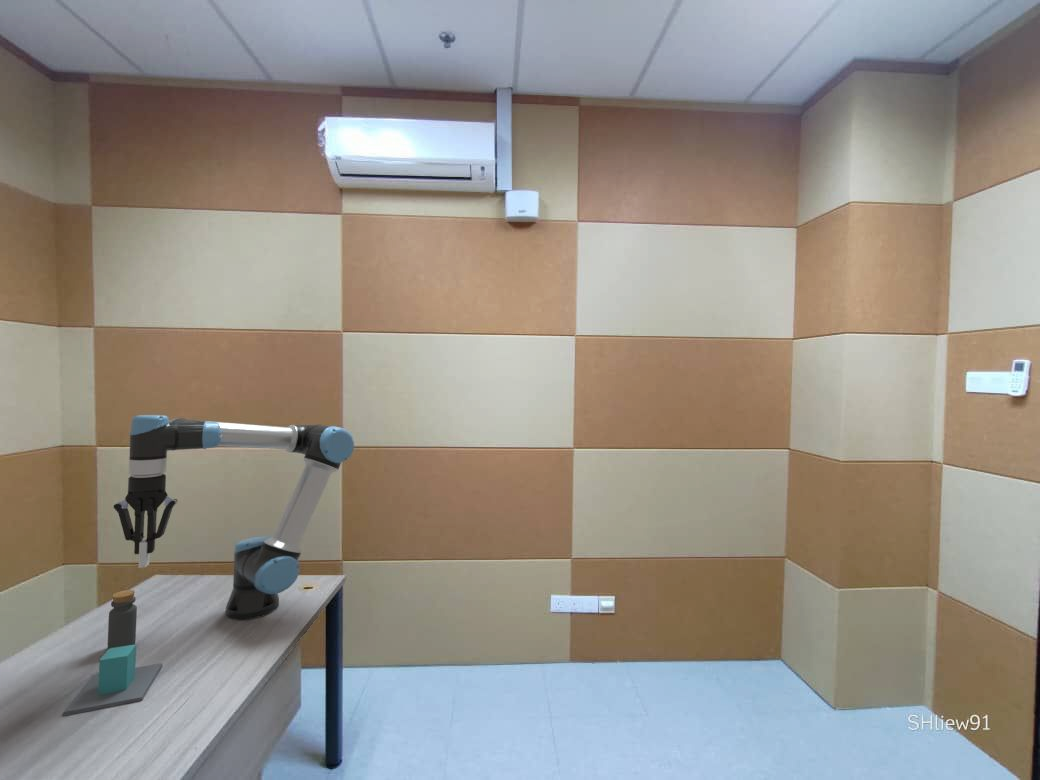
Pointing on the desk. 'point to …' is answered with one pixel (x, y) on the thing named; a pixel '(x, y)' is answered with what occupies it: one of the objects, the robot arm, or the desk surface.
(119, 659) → the teal rectangular block
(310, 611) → the desk surface
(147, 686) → the stand
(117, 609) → the bottle
